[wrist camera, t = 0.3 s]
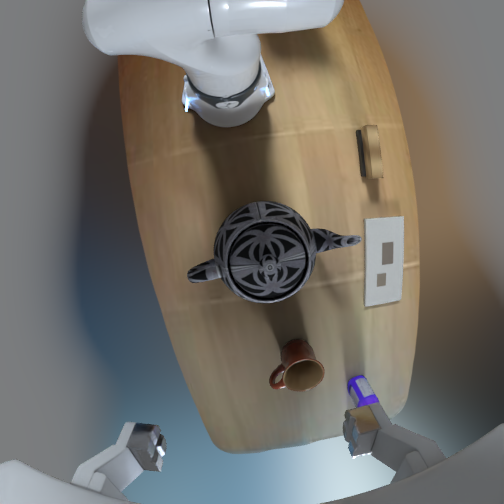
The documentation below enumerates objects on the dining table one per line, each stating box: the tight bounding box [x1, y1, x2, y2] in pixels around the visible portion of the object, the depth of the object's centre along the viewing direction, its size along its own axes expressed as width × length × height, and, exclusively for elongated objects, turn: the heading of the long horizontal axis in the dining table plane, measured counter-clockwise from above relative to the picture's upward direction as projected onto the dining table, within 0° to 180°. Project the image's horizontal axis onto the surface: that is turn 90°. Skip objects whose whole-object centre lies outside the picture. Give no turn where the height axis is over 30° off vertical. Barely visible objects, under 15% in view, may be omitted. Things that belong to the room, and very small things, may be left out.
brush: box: [356, 125, 383, 179], centre depth 50 cm, size 11×4×4 cm, turn 6°
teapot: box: [187, 201, 361, 303], centre depth 49 cm, size 19×31×15 cm, turn 104°
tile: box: [364, 216, 404, 307], centre depth 57 cm, size 20×10×1 cm, turn 6°
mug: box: [269, 339, 324, 391], centre depth 57 cm, size 12×9×10 cm
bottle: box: [348, 375, 379, 408], centre depth 56 cm, size 7×6×17 cm
